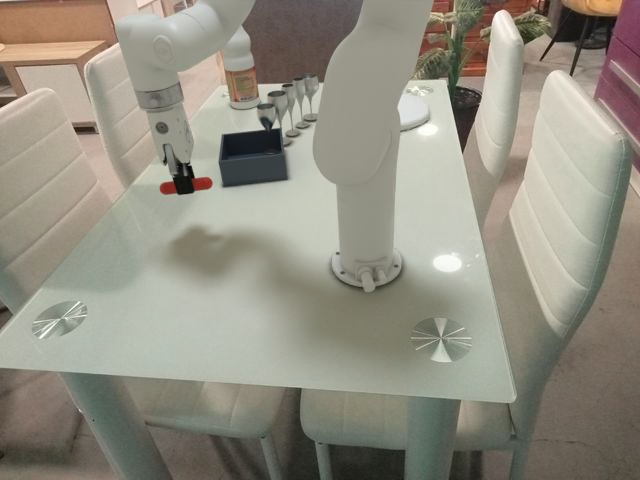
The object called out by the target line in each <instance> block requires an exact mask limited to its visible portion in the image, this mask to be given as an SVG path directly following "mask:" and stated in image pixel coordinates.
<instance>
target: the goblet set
mask: <svg viewBox="0 0 640 480" xmlns="http://www.w3.org/2000/svg"><path fill="white" fill-rule="evenodd" d="M280 89H281V90H273V91H270V92H268V93H267V94H266V102H264V103H259V104H258V105H257V106H256V117H257V120H258V122H259V124H260V125H261V126H262V127H263V129H264V130H265V129H266V130H267V131H268V132H270V130H271V129H273V127H274V125H275V123H276V121H277V122H278V125H279V128H282V129H283V125H282V124H283V123H282V122H283V119H284V117H285V115H286V114H287V111H288V114H289V118H290V126H291V129H288V130H286V131H285V135H286V136H283V134H282V136H283V144H284V146H285V145H288V144H290V143H291V142H292V139H291V138H290V137H288V136H297V135H299V134H300V132H301V131H300V130H299V129H296V128H294V126H293V110H294V107H295V103H296V101H297V103H298V106H299V109H300V111H299V112H300V118H301V119H300V120H301V121H298V122H296V123H295V127H298V128H306V127H308V126H310V122H308V121H315V120H317V116H318V113H314V112H313V110H312V109H313V107H312V101H313V97H314V96H315V94H317V92H318V91H319V89H320V81H319V78H318V75H317V74H316V73H312V72H308V73H307V72H306V73H302V74H301V75H300V76H297V77H294V78H292V83H290V82H288V83H283V84H281V88H280ZM305 97H306V98H307V99H308V102H309V108H310V109H309V110H310V113H307V114H305V115H303V102H304V98H305ZM305 120H307V121H305ZM279 151H280V150H275V149H271V150H267V151H264V153H266V154H274V153H277V152H279Z"/></svg>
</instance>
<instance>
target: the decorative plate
mask: <svg viewBox="0 0 640 480" xmlns="http://www.w3.org/2000/svg"><path fill="white" fill-rule="evenodd" d="M397 108H398V111H399V114H400V120H401V132H402V131H408V130H411V129H413V128H416V127H419V126H422V125H423V124H424V123H425V122H427V121H428V120H429V119H430V106H429V104H428V102H426V100H425V99H424V98H421V97H418V96H415V95H412V94H407V93H402V95H401V98H400V101H399V104H398V107H397Z"/></svg>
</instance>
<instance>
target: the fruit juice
mask: <svg viewBox="0 0 640 480" xmlns="http://www.w3.org/2000/svg"><path fill="white" fill-rule="evenodd" d="M251 43H252V41H251V38H250V35H249V34H248V33H247V31H246V30H245V29H244V26H243V24H242V25H241V26H240V27H239V29H238V30H237V31H236V33H235V34H234V35H233V37H232V38H231V39H230V41H229V42H228V43H227V44H226V45H225V46H224V47H223V48H222V49H221V51H222V53H223V57H222V65H223V69H224V75H225V81H226V87H227V92H228V96H229V102H230V105H231V107H232V108H234V109H236V110H248V109H253V108H255V107H257V106H258V105H260V102H261V101H260V100H261V99H260V98H261V97H260V93H259V92H260V91H259V86H258V84H259V83H258V78H257V71H256V65H255V59H254V55H253V53H252V51H251V47H252V44H251Z"/></svg>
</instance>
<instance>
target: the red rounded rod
mask: <svg viewBox="0 0 640 480" xmlns="http://www.w3.org/2000/svg"><path fill="white" fill-rule="evenodd" d="M192 183H193V186H194V190H195V191H194V192H200V191H206V190H210V189H212V187H213V180H212V178H210V177H209V176H202V177H195V178H194V179H192ZM159 192H160V193H161V194H162V195H164V196H168V195H178V194H177V191H176V188H175V185H174V182H173V180H172V181H165V182H162V183H161V184H160V185H159Z"/></svg>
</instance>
